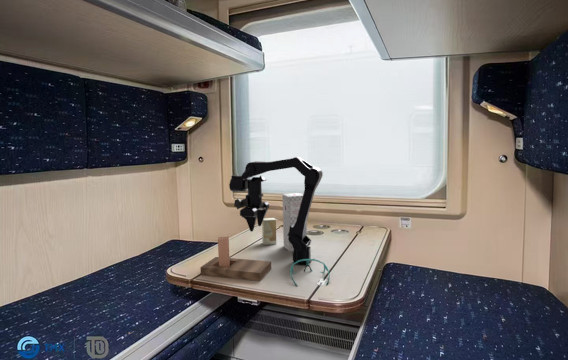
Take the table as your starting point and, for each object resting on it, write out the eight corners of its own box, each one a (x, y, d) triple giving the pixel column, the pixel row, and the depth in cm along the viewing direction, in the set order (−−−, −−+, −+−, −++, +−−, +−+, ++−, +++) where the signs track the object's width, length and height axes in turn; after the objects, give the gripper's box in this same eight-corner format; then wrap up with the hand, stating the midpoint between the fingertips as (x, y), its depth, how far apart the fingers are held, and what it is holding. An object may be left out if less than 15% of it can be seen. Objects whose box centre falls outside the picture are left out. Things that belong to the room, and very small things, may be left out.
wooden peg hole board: (271, 268, 135) (271, 261, 134) (260, 281, 123) (260, 272, 123) (216, 263, 142) (215, 256, 141) (200, 274, 130) (200, 267, 130)
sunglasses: (325, 270, 133) (325, 258, 132) (332, 290, 118) (332, 277, 117) (289, 271, 133) (289, 259, 131) (291, 291, 118) (291, 278, 117)
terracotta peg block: (229, 268, 136) (228, 236, 135) (229, 272, 132) (228, 239, 131) (219, 269, 135) (218, 237, 134) (219, 273, 132) (217, 240, 130)
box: (289, 251, 155) (288, 196, 152) (283, 246, 163) (282, 194, 160) (307, 249, 158) (306, 195, 155) (300, 244, 166) (299, 192, 163)
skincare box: (264, 245, 166) (263, 220, 164) (262, 242, 170) (261, 218, 168) (277, 244, 167) (276, 219, 166) (274, 241, 171) (274, 217, 170)
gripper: (245, 188, 155) (246, 222, 157) (227, 194, 137) (228, 233, 139) (269, 189, 152) (269, 223, 153) (253, 195, 134) (254, 234, 136)
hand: (255, 228), depth 145 cm, fingers open, 9 cm apart
